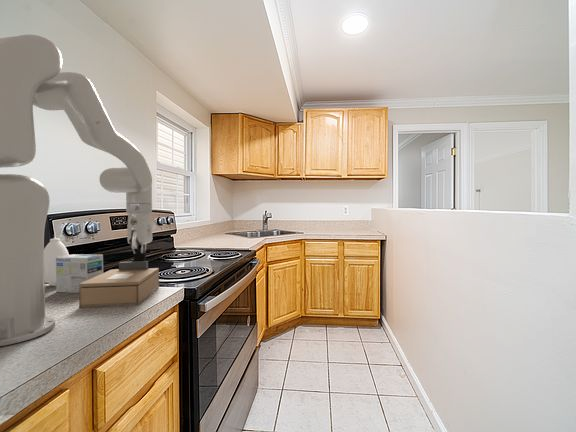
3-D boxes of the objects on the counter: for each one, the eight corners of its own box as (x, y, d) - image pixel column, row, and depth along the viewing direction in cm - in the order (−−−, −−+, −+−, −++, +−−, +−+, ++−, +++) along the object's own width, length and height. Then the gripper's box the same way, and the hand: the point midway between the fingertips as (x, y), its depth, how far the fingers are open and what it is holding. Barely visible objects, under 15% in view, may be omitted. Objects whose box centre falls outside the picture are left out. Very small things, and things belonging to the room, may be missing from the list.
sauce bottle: (76, 282, 98) (75, 229, 98) (55, 289, 91) (54, 231, 90) (56, 282, 99) (55, 229, 99) (33, 288, 92) (32, 231, 91)
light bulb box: (104, 287, 92) (104, 253, 92) (88, 293, 86) (87, 257, 86) (73, 286, 94) (73, 253, 93) (54, 292, 87) (54, 256, 87)
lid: (138, 284, 75) (137, 272, 75) (78, 287, 73) (78, 274, 73) (158, 270, 93) (158, 260, 93) (111, 271, 91) (111, 261, 91)
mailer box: (138, 305, 75) (138, 286, 75) (79, 307, 73) (79, 288, 73) (158, 286, 93) (158, 271, 93) (111, 288, 91) (111, 272, 91)
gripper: (143, 209, 89) (144, 269, 89) (158, 209, 103) (158, 260, 104) (117, 209, 87) (117, 269, 88) (135, 209, 102) (136, 261, 103)
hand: (139, 264), depth 96 cm, fingers closed
